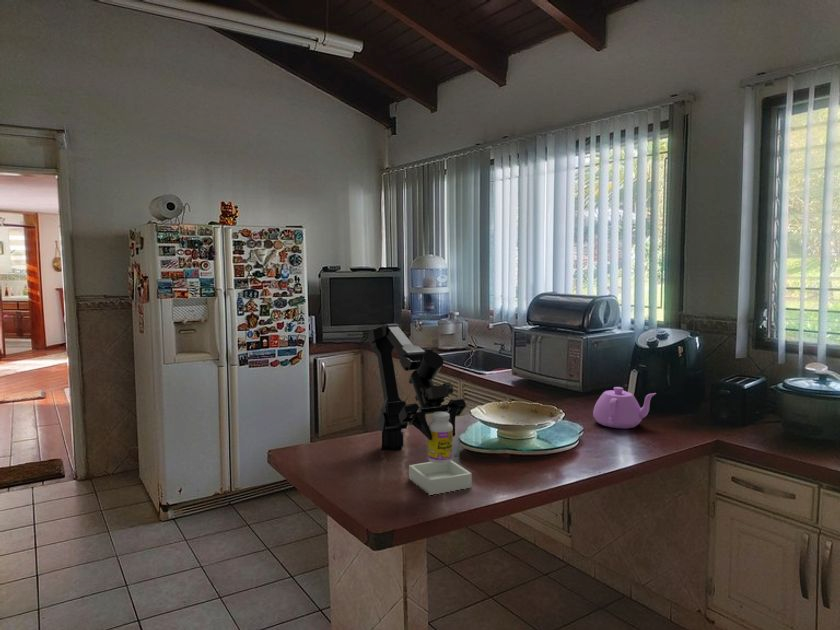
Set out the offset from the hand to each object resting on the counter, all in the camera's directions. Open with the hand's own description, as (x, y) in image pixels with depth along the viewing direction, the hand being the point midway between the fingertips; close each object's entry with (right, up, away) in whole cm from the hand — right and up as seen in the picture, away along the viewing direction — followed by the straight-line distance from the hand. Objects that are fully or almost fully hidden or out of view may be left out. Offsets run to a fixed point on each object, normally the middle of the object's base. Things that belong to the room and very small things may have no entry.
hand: (442, 437), depth 156 cm
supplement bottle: (-1, -7, +2) cm, 7 cm away
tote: (-1, -13, +2) cm, 13 cm away
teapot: (+69, -8, +58) cm, 90 cm away
